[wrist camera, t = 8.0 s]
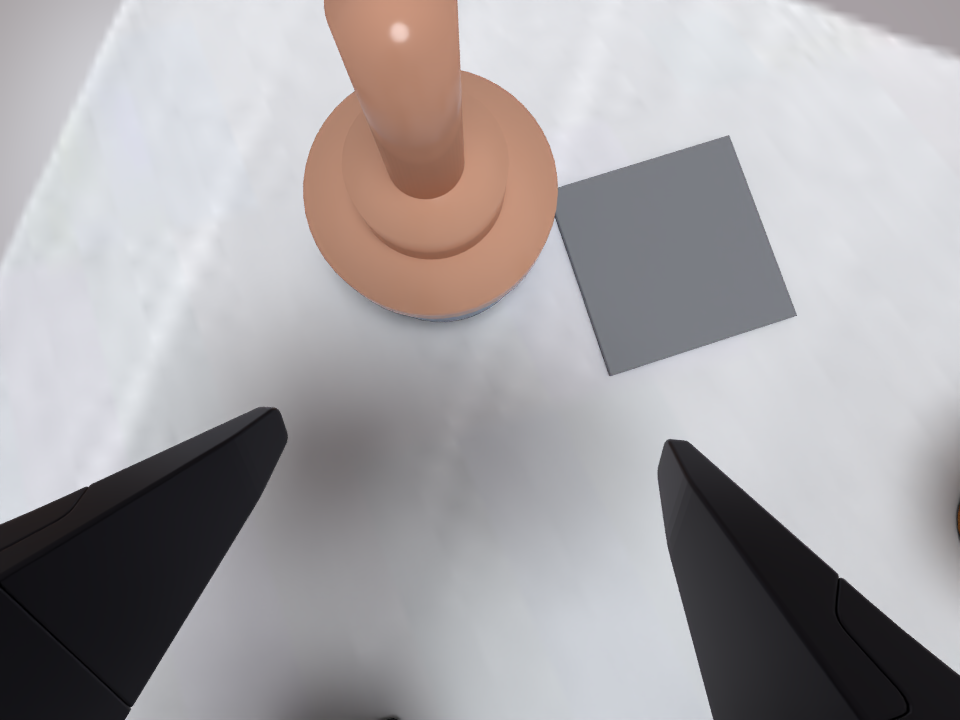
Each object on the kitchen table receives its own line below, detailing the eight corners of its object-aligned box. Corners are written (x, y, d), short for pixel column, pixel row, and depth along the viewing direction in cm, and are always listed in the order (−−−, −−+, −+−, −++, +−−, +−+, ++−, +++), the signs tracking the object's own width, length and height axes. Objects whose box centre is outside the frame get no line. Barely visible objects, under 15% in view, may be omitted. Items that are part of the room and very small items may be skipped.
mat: (609, 375, 23) (611, 375, 22) (547, 193, 24) (548, 190, 23) (792, 316, 23) (796, 315, 23) (725, 138, 24) (729, 135, 24)
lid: (426, 368, 19) (371, 344, 9) (267, 195, 19) (42, -15, 9) (599, 209, 19) (733, 18, 9) (441, 46, 20) (408, -302, 10)
